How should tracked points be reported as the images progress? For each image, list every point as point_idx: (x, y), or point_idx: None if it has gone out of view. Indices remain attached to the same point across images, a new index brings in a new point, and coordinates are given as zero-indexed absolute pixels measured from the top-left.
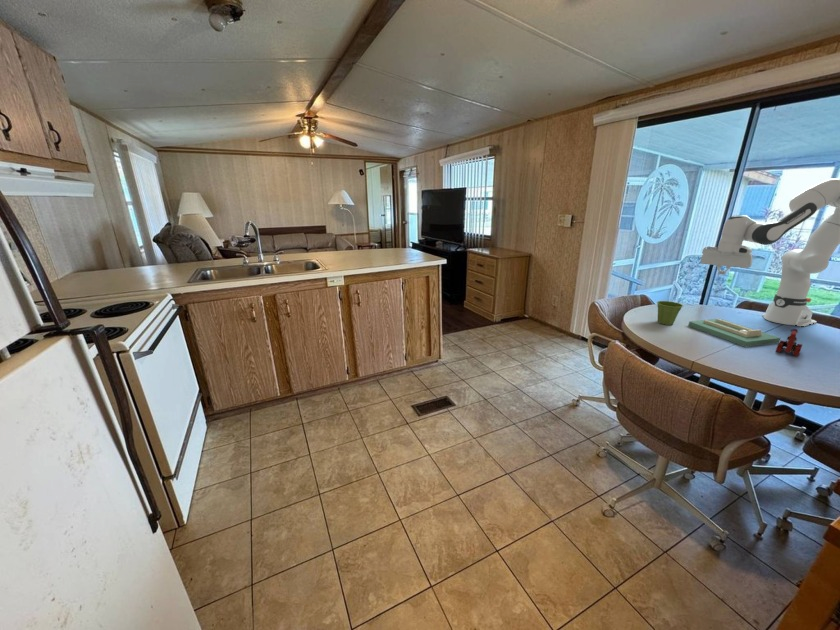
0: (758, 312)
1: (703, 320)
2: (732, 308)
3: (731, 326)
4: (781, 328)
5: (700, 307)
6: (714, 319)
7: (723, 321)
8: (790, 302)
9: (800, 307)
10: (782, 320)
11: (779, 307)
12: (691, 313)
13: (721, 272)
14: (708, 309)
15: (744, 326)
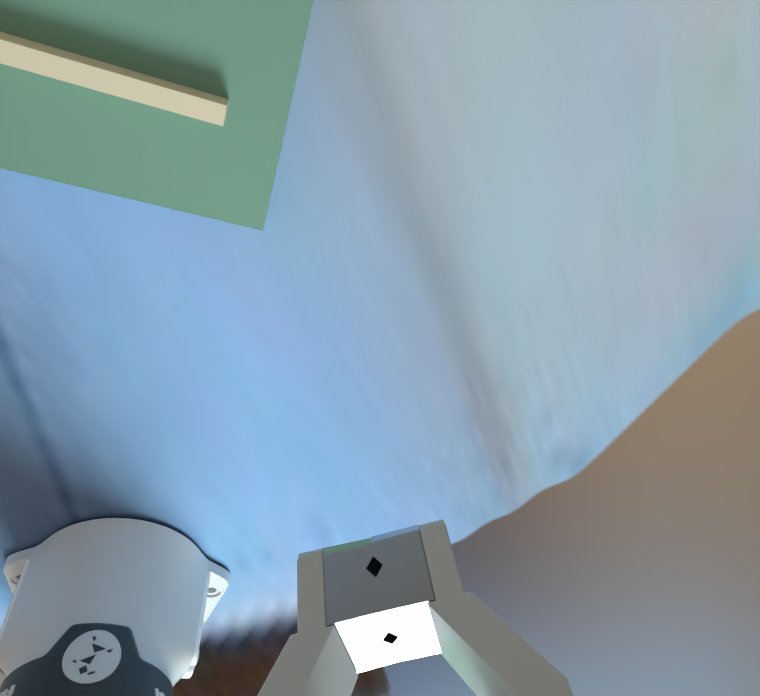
0: (273, 604)
1: (301, 11)
2: None
3: (55, 49)
4: (16, 450)
5: (506, 461)
6: (269, 158)
7: (146, 81)
8: (30, 678)
9: (6, 672)
10: (77, 542)
11: (98, 620)
12: (497, 283)
13: (383, 571)
14: (457, 461)
15: (23, 171)
